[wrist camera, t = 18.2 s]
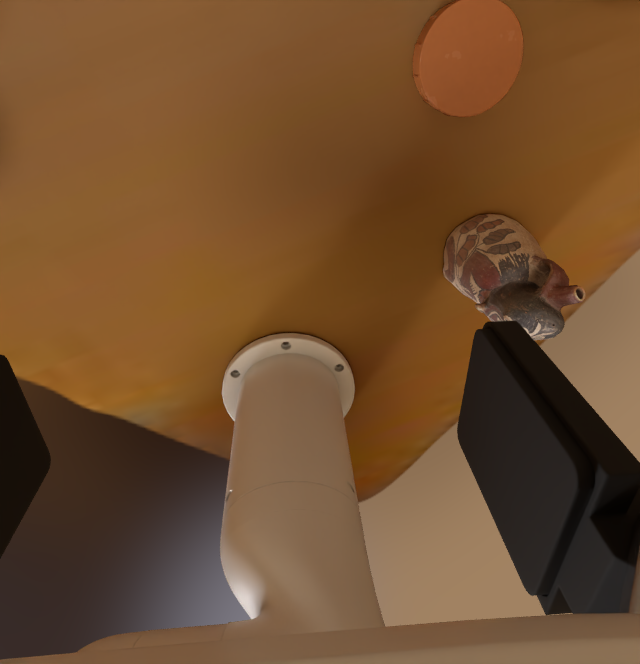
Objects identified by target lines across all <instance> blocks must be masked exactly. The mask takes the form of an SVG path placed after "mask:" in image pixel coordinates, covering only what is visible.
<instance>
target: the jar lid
mask: <svg viewBox="0 0 640 664" xmlns="http://www.w3.org/2000/svg"><path fill="white" fill-rule="evenodd" d="M522 57H523V34H522V30H521V27H520V24H519V21H518V19H517V17H516V16H515V14H514V13H513V11H512V10H511V9H510V8H509V7H508V6H507V5H506V4H505V3H503V2H502V1H500V0H455V1H453V2H451V3H449V4H447V5H445V6H444V7H442V8H441V9H440V10H438V11H437V12H436V13H435V14H434V15H433V16H430V19H429V21H428V22H427V23H426V25H425V26H424V28H423V30H422V31H421V33H420V35H419V38H418V40H417V43H416V44H415V50H414V56H413V77H414V80H415V83H416V86H417V89H418V91H419V93H420V95H421V96H422V97H423V99H424V100H423V101H425V102H427V103H428V104H429V105H430V106H432V107H433V108H435V109H436V110H438V111H441V112H443V114H445V115H448V116H450V115H451V116H456V117H469V116H474V115H478V114H480V113H483V112H485V111H486V110H488V109H490V108H491V107H493V106H494V105H496V104H497V103H498V102H499V101H500V100H501V99H502V98H503V97H504V96H505V95H506V93H507V92H508V91H509V89H510V88H511V86H512V85H513V83H514V81H515V79H516V77H517V75H518V72H519V69H520V66H521V62H522Z"/></svg>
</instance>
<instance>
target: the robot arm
mask: <svg viewBox="0 0 640 664" xmlns="http://www.w3.org/2000/svg"><path fill="white" fill-rule="evenodd" d="M354 393H355V385H354V378H353V374H352V370H351V368H350V366H349V364H348V362H347V360H346V359H345V358H344V356H343V355H342V354H341V353H340V352H339V351H338V350H337V349H336V348H334V347H333V346H332V345H330V344H329V343H327V342H325V341H323V340H321V339H319V338H316V337H313V336H310V335H304V334H298V333H281V334H275V335H270V336H266V337H264V338H261V339H258V340H256V341H254V342H252V343H250V344H249V345H247V346H245V347H244V348H243V349H242V350H241V351H239V352H238V353H237V354H236V355H235V356H234V358H233V359H232V360H231V362H230V363H229V365H228V367H227V369H226V371H225V375H224V379H223V386H222V396H223V402H224V405H225V407H226V410H227V412H228V413H229V415H230V416H231V418H232V419H233V420H234V421H235V424H234V432H233V440H232V448H231V456H230V466H229V473H228V481H227V489H226V497H225V505H224V513H223V521H222V530H221V539H220V555H221V563H222V567H223V570H224V574H225V577H226V579H227V581H228V584H229V585H230V587H231V590H232V592H233V593H234V595H235V596H236V598H237V599H238V601H239V603H240V604H241V606H242V607H243V608H244V610H245V611H246V612H247V614H248V615H249V616H250V618H251V619H250V620H245V621H237V622H229V623H228V624H219V625H207V626H195V627H184V628H171V629H160V630H149V631H142V632H133V633H126V634H119V635H114V636H109V637H106V638H103V639H100V640H97V641H95V642H93V643H91V644H89V645H87V646H85V647H83V648H82V649H80V650H79V651H78V652H77V653H68V654H57V655H47V656H37V657H24V658H13V659H2V660H0V664H640V462H639V461H638V460H637V459H636V458H635V457H634V456H633V454H632V453H631V452H630V451H629V450H628V449H627V447H626V446H625V445H624V444H623V443H622V442H621V440H620V439H619V438H618V437H617V436H616V435H615V434H614V433H613V431H612V430H611V429H610V428H609V427H608V425H607V424H606V423H605V422H604V421H603V420H602V418H601V417H599V415H598V414H597V413H596V412H595V410H594V409H593V408H592V407H591V406H590V405H589V403H587V401H586V400H585V399H584V398H583V397H582V395H581V394H580V393H579V392H578V391H577V390H576V388H575V387H574V386H573V385H572V384H571V383H570V382H569V380H568V379H567V378H566V377H565V376H564V374H563V373H562V372H561V371H560V370H559V369H558V368H557V367H556V365H555V364H554V363H553V362H552V361H551V360H550V358H549V357H548V356H547V355H546V354H545V352H544V351H543V350H542V349H541V348H540V347H539V346H538V344H537V343H536V342H535V341H534V340H533V339H532V337H531V336H530V335H529V334H528V333H527V332H526V330H525V329H524V328H523V327H522V326H521V325H520V324H519V323H518V322H517V321H494V322H487V323H485V325H484V326H483V329H478V330H476V332H475V335H474V340H473V345H472V351H471V356H470V362H469V367H468V372H467V378H466V383H465V389H464V394H463V400H462V405H461V411H460V416H459V422H458V428H457V429H458V430H457V433H458V440H459V443H460V446H461V448H462V450H463V452H464V454H465V457H466V459H467V461H468V463H469V466H470V468H471V470H472V472H473V474H474V476H475V479H476V481H477V483H478V485H479V488H480V490H481V492H482V494H483V497H484V499H485V501H486V503H487V505H488V508H489V510H490V512H491V514H492V517H493V519H494V521H495V523H496V526H497V528H498V530H499V532H500V534H501V536H502V539H503V541H504V543H505V546H506V548H507V550H508V552H509V554H510V557H511V559H512V561H513V563H514V566H515V568H516V570H517V572H518V574H519V576H520V579H521V581H522V583H523V585H524V587H525V589H526V591H527V592H528V593H529V594H530V595H532V596H533V595H537V597H538V599H539V601H540V603H541V605H542V608H543V610H544V612H545V614H546V616H531V617H515V618H498V619H481V620H465V621H453V622H440V623H428V624H415V625H403V626H390V627H385V624H384V621H383V618H382V614H381V611H380V608H379V604H378V600H377V596H376V593H375V588H374V584H373V580H372V576H371V571H370V567H369V561H368V556H367V551H366V546H365V540H364V535H363V529H362V523H361V517H360V512H359V506H358V500H357V494H356V488H355V482H354V476H353V470H352V464H351V458H350V453H349V447H348V441H347V435H346V429H345V423H344V417H345V416H346V414H347V413H348V411H349V409H350V407H351V405H352V402H353V400H354ZM50 461H51V459H50V453H49V451H48V448H47V446H46V444H45V441H44V439H43V437H42V435H41V433H40V430H39V428H38V426H37V424H36V421H35V420H34V417H33V415H32V412H31V410H30V408H29V406H28V404H27V401H26V399H25V397H24V395H23V392H22V390H21V388H20V386H19V384H18V381H17V379H16V377H15V374H14V372H13V370H12V368H11V366H10V363H9V361H8V360H7V358H6V357H5V356H4V355H0V558H1V556H2V554H3V553H4V551H5V549H6V547H7V545H8V544H9V542H10V540H11V538H12V536H13V534H14V533H15V531H16V529H17V527H18V525H19V524H20V522H21V520H22V518H23V516H24V514H25V512H26V511H27V509H28V507H29V505H30V503H31V502H32V500H33V498H34V496H35V494H36V493H37V491H38V489H39V487H40V485H41V483H42V482H43V480H44V478H45V476H46V474H47V473H48V470H49V468H50ZM561 613H562V615H551V614H561ZM563 613H573V614H563Z"/></svg>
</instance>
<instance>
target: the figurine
mask: <svg viewBox="0 0 640 664" xmlns="http://www.w3.org/2000/svg"><path fill="white" fill-rule="evenodd" d="M443 273H444V277H445V278H446V279H447V280H449V281H450V282H451V283H452V284H453V285H454V286H455V287H456V288H457V289H458V290H459V291H460V292H461V293H462V294H464V295H465V296H467V297H469V298H470V299H472V300H474V301H475V302H477V304H476V305H475V307H476V308H477V309H478V310H479V311H481V312H483V313H484V314H485V315H486V316H488V318H489V319H490V320H491V321H492V322H494V321H517V322H518V323H519V324H520V325H521V326H522V327H523V328H524V329H525V330H526V332H527V333H528V334H529V335H530V336H531V337H532V339H533V340H542V339H550V338H554V337H555V336H556V335H557V334H559V333H560V332H561V331H562V329H563V328H564V319H563V316H562V314H561V311H560V310H561V308H562V307H563V306H566V305H571V304H575V303H579V302H582V301H583V300H584V298H585V290H584V289H583V288H581V287H579V286H577V285H572V286H569V278H568V276H567V275H566V273H565V271H564V270H563V269H562V268H561V267H560V266H559V265H557V264H556V263H555V262H553V261H551V260H549V259H547V258H546V256H545V254H544V252H543V251H542V249H541V248H540V246H539V244H538V243H537V241H536V240H535V238H534V237H533V236H532V235H531V233H530V232H528V231H527V230H526V229H525V228H524V227H523V226H522V225H521V224H519V223H518V222H517V221H515V220H513V219H510V218H508V217H506V216H503V215H496V214H485V215H477V216H475V217H473V218H471V219H470V220H468V221H466V222H464V223H462V224H461V225H459V226H458V227H457V228H456V229H455V230H454V231H453V232H452V233H451V234H450V236H449V237H448V239H447V240H446V247H445V250H444V268H443Z"/></svg>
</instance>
